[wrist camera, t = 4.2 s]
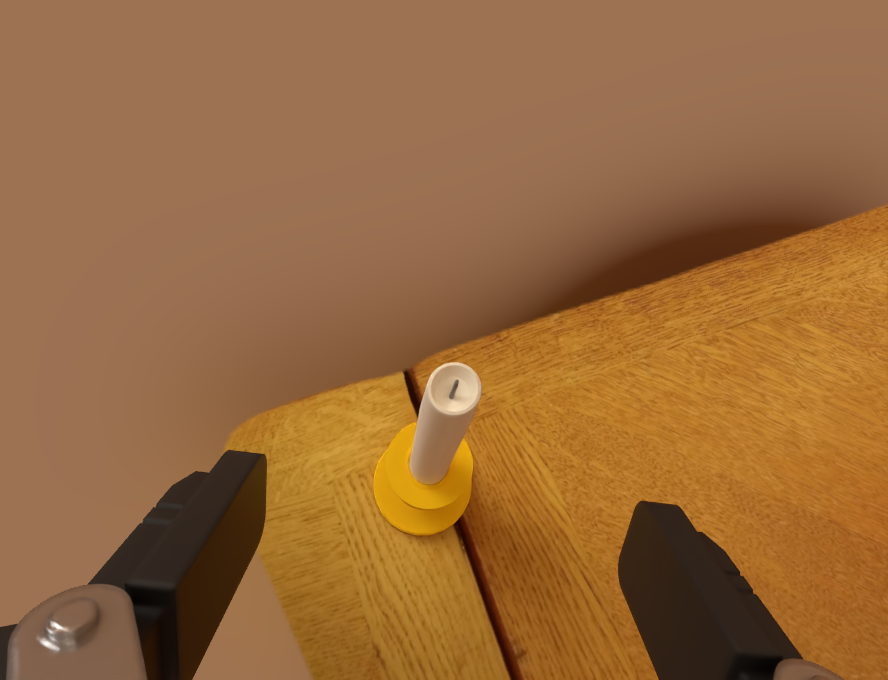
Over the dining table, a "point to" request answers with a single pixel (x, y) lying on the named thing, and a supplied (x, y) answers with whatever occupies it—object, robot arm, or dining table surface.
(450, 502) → the candle
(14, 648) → the robot arm
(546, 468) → the dining table surface
